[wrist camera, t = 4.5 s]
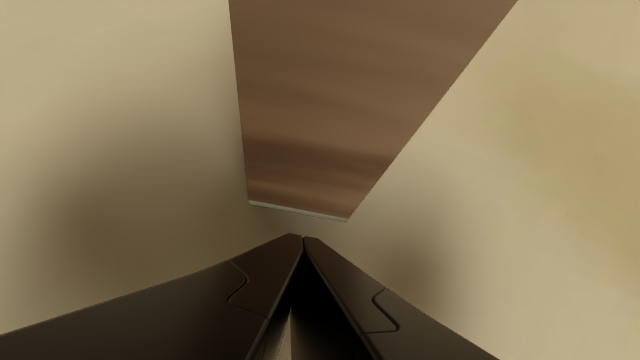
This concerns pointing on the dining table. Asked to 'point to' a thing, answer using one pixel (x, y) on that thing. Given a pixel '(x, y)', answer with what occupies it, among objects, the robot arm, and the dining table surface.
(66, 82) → the dining table surface
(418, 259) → the dining table surface
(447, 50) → the walnut block
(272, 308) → the robot arm
